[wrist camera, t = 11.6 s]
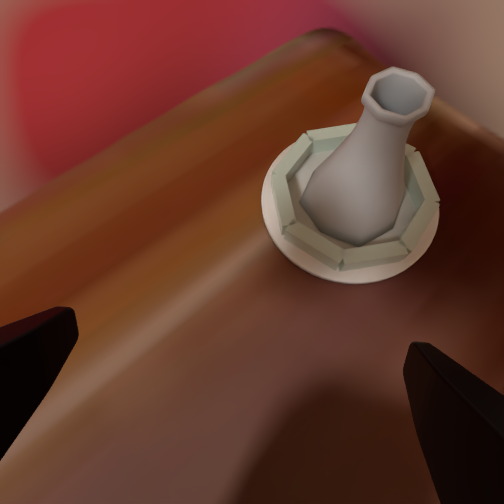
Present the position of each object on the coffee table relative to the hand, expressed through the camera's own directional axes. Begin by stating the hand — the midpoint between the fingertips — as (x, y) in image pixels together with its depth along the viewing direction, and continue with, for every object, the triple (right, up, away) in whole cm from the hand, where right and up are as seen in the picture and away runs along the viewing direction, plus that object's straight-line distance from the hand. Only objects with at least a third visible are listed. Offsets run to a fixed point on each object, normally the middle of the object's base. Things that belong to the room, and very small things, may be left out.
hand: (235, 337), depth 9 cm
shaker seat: (+8, +6, +17) cm, 19 cm away
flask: (+8, +6, +16) cm, 19 cm away
